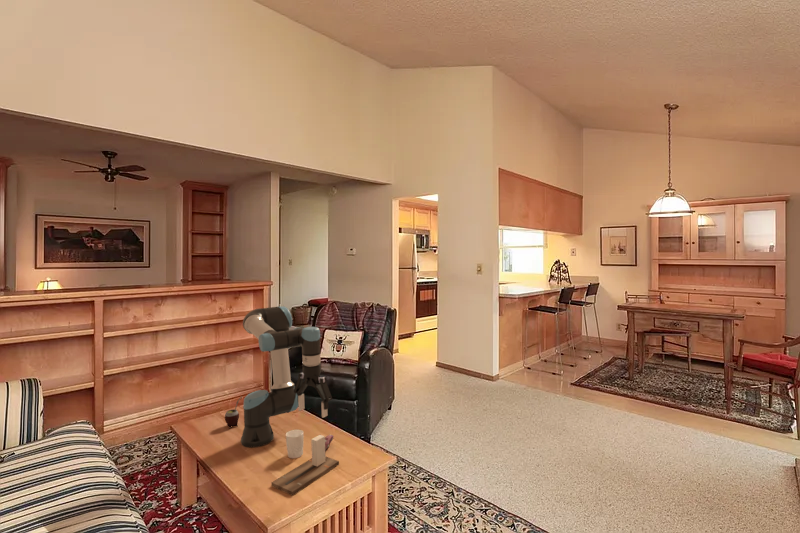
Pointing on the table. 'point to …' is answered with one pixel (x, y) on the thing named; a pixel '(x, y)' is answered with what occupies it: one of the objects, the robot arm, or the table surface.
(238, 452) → the table surface
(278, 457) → the table surface
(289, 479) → the board
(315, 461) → the fader knob
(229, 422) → the mate gourd
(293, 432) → the white cup
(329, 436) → the video game controller
